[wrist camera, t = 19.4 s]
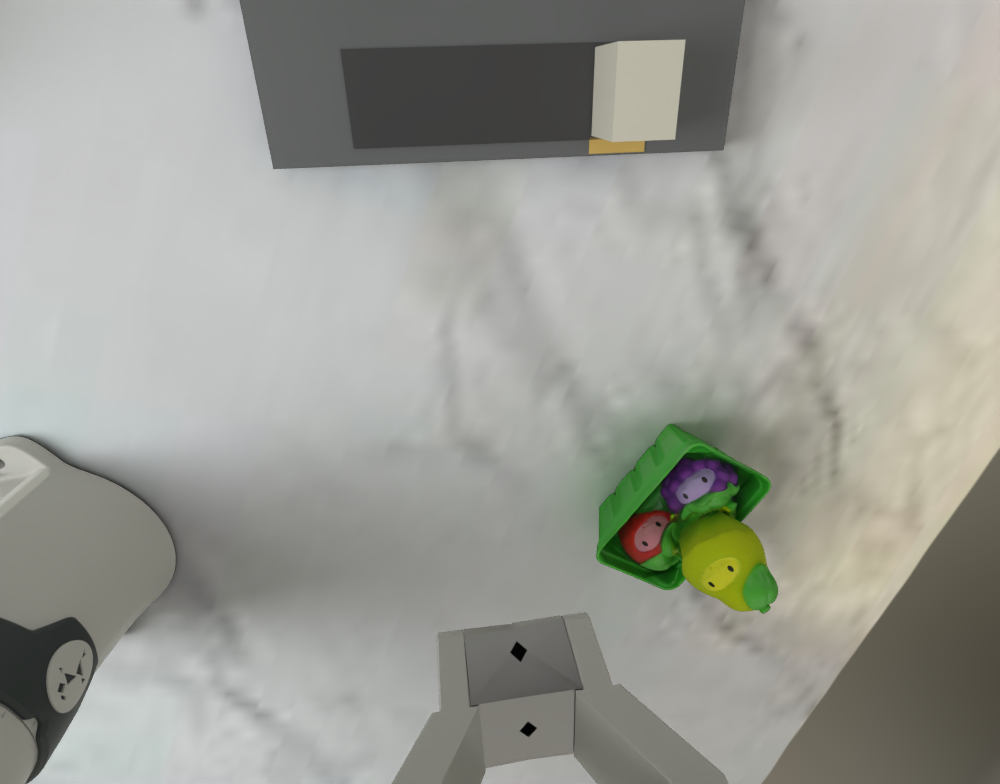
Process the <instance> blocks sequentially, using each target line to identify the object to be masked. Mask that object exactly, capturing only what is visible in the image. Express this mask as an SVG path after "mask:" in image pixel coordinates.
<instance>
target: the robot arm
mask: <svg viewBox="0 0 1000 784" xmlns="http://www.w3.org/2000/svg"><path fill="white" fill-rule="evenodd" d="M0 459H1V460H3V461H4V462H3V461H1V460H0V784H27V783H29V782H30V781H32V780H33V779H34V778H35V777H36V776H37V775H38V774H39V773H40V772H41V770H42V769H43V768H44V766H45V765H46V763H47V761H48V760H49V758H50V756H51V755H52V753H53V752H54V750H55V748H56V747H57V745H58V743H59V742H60V740H61V739H62V737H63V735H64V734H65V732H66V730H67V728H68V727H69V725H70V723H71V721H72V720H73V718H74V716H75V714H76V713H77V711H78V709H79V707H80V705H81V703H82V700H83V698H84V696H85V694H86V692H87V689H88V687H89V685H90V682H91V680H92V678H93V675H94V673H95V672H96V670H97V669H98V668H99V666H100V665H101V664H102V662H103V661H104V660H105V659H106V657H107V656H108V655H109V653H110V652H111V651H112V649H113V648H114V647H115V645H116V644H117V643H118V641H119V640H120V639H121V638H122V637H123V635H124V634H125V633H126V631H127V630H128V629H129V628H130V627H131V626H132V624H133V623H134V622H135V621H136V620H137V618H138V617H139V616H140V615H141V614H142V613H143V612H144V611H145V610H146V609H147V608H148V607H149V606H150V604H151V603H153V602H154V601H155V600H156V599H157V598H158V597H159V596H160V595H161V594H162V593H163V592H164V590H165V589H166V588H167V587H168V585H169V583H170V582H171V580H172V577H173V574H174V571H175V566H176V554H175V548H174V544H173V541H172V539H171V536H170V534H169V532H168V530H167V529H166V527H165V525H164V524H163V522H162V521H161V520H160V519H159V517H158V516H157V515H156V514H155V513H154V512H153V511H152V510H151V509H150V508H149V507H148V506H147V505H146V504H145V503H144V502H143V501H141V500H140V499H139V498H137V497H136V496H135V495H133V494H132V493H130V492H129V491H127V490H125V489H124V488H122V487H120V486H118V485H117V484H115V483H113V482H110V481H108V480H106V479H104V478H101V477H99V476H96V475H93V474H91V473H88V472H85V471H82V470H79V469H77V468H75V467H72V466H70V465H68V464H66V463H64V462H63V461H61V460H60V459H59V458H57V457H56V456H55V455H53V454H52V453H50V452H49V451H48V450H46V449H45V448H43V447H42V446H40V445H39V444H37V443H35V442H33V441H31V440H29V439H27V438H24V437H18V436H12V437H6V438H2V439H0ZM464 640H465V642H464ZM437 657H438V682H439V706H440V712H435V713H432V714H431V716H430V717H429V719H428V721H427V723H426V724H425V726H424V728H423V730H422V731H421V733H420V735H419V737H418V739H417V740H416V742H415V744H414V746H413V747H412V749H411V751H410V753H409V754H408V756H407V758H406V760H405V761H404V763H403V765H402V767H401V768H400V770H399V772H398V774H397V775H396V777H395V779H394V781H393V782H392V784H481V782H482V779H483V776H484V774H485V768H488V767H493V766H498V765H503V764H508V763H514V762H519V761H524V760H529V759H536V758H544V757H551V756H559V755H566V754H574V756H575V758H576V759H577V760H578V761H579V762H580V764H581V765H582V766H583V767H584V768H585V770H586V771H587V772H588V773H589V774H590V776H591V777H592V778H593V779H594V780H595V782H596V783H597V784H728V781H727V779H726V777H725V775H724V774H723V773H722V772H721V771H720V770H719V769H718V768H716V767H715V766H714V765H713V764H712V763H711V762H709V761H708V760H707V759H706V758H705V757H704V756H703V755H701V754H700V753H699V752H698V751H697V750H696V749H694V748H693V747H692V746H691V745H690V744H689V743H688V742H686V741H685V740H684V739H683V738H682V737H681V736H679V735H678V734H677V733H676V732H675V731H674V730H672V729H671V728H670V727H669V726H668V725H667V724H666V723H664V722H663V721H662V720H661V719H660V718H659V717H657V716H656V715H655V714H654V713H653V712H652V711H651V710H649V709H648V708H647V707H646V706H645V705H644V704H642V703H641V702H640V701H639V700H638V699H637V698H636V697H634V696H633V695H632V694H631V693H630V692H629V691H627V690H626V689H625V688H624V687H623V686H622V685H621V684H617V685H612V682H611V679H610V676H609V673H608V670H607V667H606V664H605V661H604V658H603V655H602V652H601V650H600V647H599V644H598V641H597V638H596V635H595V632H594V629H593V626H592V623H591V620H590V617H589V616H588V614H587V613H586V612H585V613H578V614H571V615H564V616H554V617H547V618H541V619H534V620H528V621H521V622H515V623H512V624H507V625H498V626H489V627H480V628H471V629H464V633H463V630H456V631H448V632H440V633H438V635H437Z"/></svg>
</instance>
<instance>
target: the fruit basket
mask: <svg viewBox="0 0 1000 784" xmlns="http://www.w3.org/2000/svg"><path fill="white" fill-rule="evenodd" d="M770 488H771V483H770V480H769V479H768V478H767V477H765V476H763V475H762V474H760V473H759V472H757V471H755V470H753V469H751V468H749V467H747V466H746V465H744V464H742V463H740V462H738V461H736V460H734V459H733V458H731V457H730V456H728V455H726V454H725V453H723V452H722V451H720V450H718V449H717V448H715V447H711V446H710V445H708V444H707V443H705V442H704V441H702V440H700V439H698V438H697V437H695V436H693V435H691V434H689V433H687V432H684V431H682V430H681V429H679V428H678V427H676V426H675V425H673V424H669V425H668V426H667V427H666V428H665V429H664V430H663V432H662V433H661V434H660V435H659V436H658V438H657V440H656V442H655V445H653V446H651V447H650V448H649V449H648V450H647V451H646V452H645V453H644V454H643V456H642V457H641V458H640V459H639V461H638V462H637V464H636V466H635V469H633V470H632V471H630V472H629V473H628V474H627V475H626V476H625V477H624V479H623V480H622V481H621V482H620V483H619V485H618V486H617V488H616V490H615V493H613V494H611V495H610V496H609V497H608V498H607V499H606V500H605V501H604V503H603V504H602V505H601V506H600V508H599V542H598V545H597V554H596V557H597V560H598V561H599V562H600V563H602V564H604V565H606V566H609V567H611V568H613V569H616V570H618V571H621V572H623V573H626V574H628V575H631V576H633V577H635V578H637V579H640V580H642V581H644V582H647V583H649V584H651V585H653V586H656V587H658V588H660V589H663V590H672V589H675V588H677V587H679V586H680V585H681V584H682V583H683V581H684V580H685V579H687V581H688V582H689V583H690V584H691V585H693V586H694V587H695V588H696V589H698V590H700V591H701V592H703V593H705V594H707V595H710V596H712V597H714V598H717V599H719V600H720V601H722V602H723V603H724V604H726V605H727V606H728V607H730V608H732V609H734V610H737V611H752V610H759V611H760V612H761V613H763V614H764V613H766V612H767V611H769V609H770V606H769V604H771V603H773V602H774V601H775V599H776V598H777V595H778V586H777V583H776V581H775V579H774V578H773V576H772V575H771V573H770V571H769V569H768V567H767V564H766V558H765V553H764V549H763V546H762V544H761V542H760V540H759V538H758V537H757V535H756V534H755V533H754V531H753V530H752V529H750V528H749V527H748V526H747V525H745V524H743V523H741V521H742V520H743V519H744V518H745V517H746V516H747V515H748V514H749V513H750V512H751V511H752V510H753V508H754V507H755V506H756V505H757V504H758V503H759V502H760V501H761V500H762V499H763V498H764V497H765V495H766V494H767V493H768V492H769V490H770Z"/></svg>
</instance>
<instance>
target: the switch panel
mask: <svg viewBox="0 0 1000 784" xmlns="http://www.w3.org/2000/svg"><path fill="white" fill-rule="evenodd" d="M744 4H745V0H240V5H241V9H242V14H243V19H244V24H245V29H246V34H247V39H248V44H249V49H250V54H251V59H252V64H253V69H254V74H255V79H256V84H257V89H258V94H259V99H260V104H261V109H262V114H263V119H264V124H265V129H266V134H267V139H268V144H269V149H270V154H271V159H272V164H273V169H286V168H310V167H333V166H357V165H381V164H405V163H429V162H453V161H477V160H501V159H524V158H548V157H572V156H596V155H620V154H644V153H668V152H692V151H715V150H724V143H725V136H726V129H727V122H728V115H729V108H730V101H731V94H732V87H733V80H734V74H735V67H736V60H737V53H738V46H739V39H740V32H741V25H742V18H743V11H744ZM648 40H686V41H685V50H684V59H683V69H682V78H681V88H680V97H679V107H678V116H677V126H676V135H675V140H651V141H626V142H610V141H607V140H604V139H601V138H597V137H594V136H591V133H592V110H593V87H594V63H595V47H597V46H601V45H605V44H609V43H613V42H617V41H648Z"/></svg>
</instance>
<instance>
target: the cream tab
mask: <svg viewBox="0 0 1000 784" xmlns="http://www.w3.org/2000/svg"><path fill="white" fill-rule="evenodd" d="M685 41H686V40H648V41H617V42H613V43H609V44H605V45H601V46H597V47H595V63H594V87H593V110H592V133H591V136H594V137H597V138H601V139H604V140H607V141H610V142H626V141H651V140H675V135H676V126H677V116H678V107H679V97H680V88H681V78H682V69H683V59H684V50H685Z"/></svg>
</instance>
